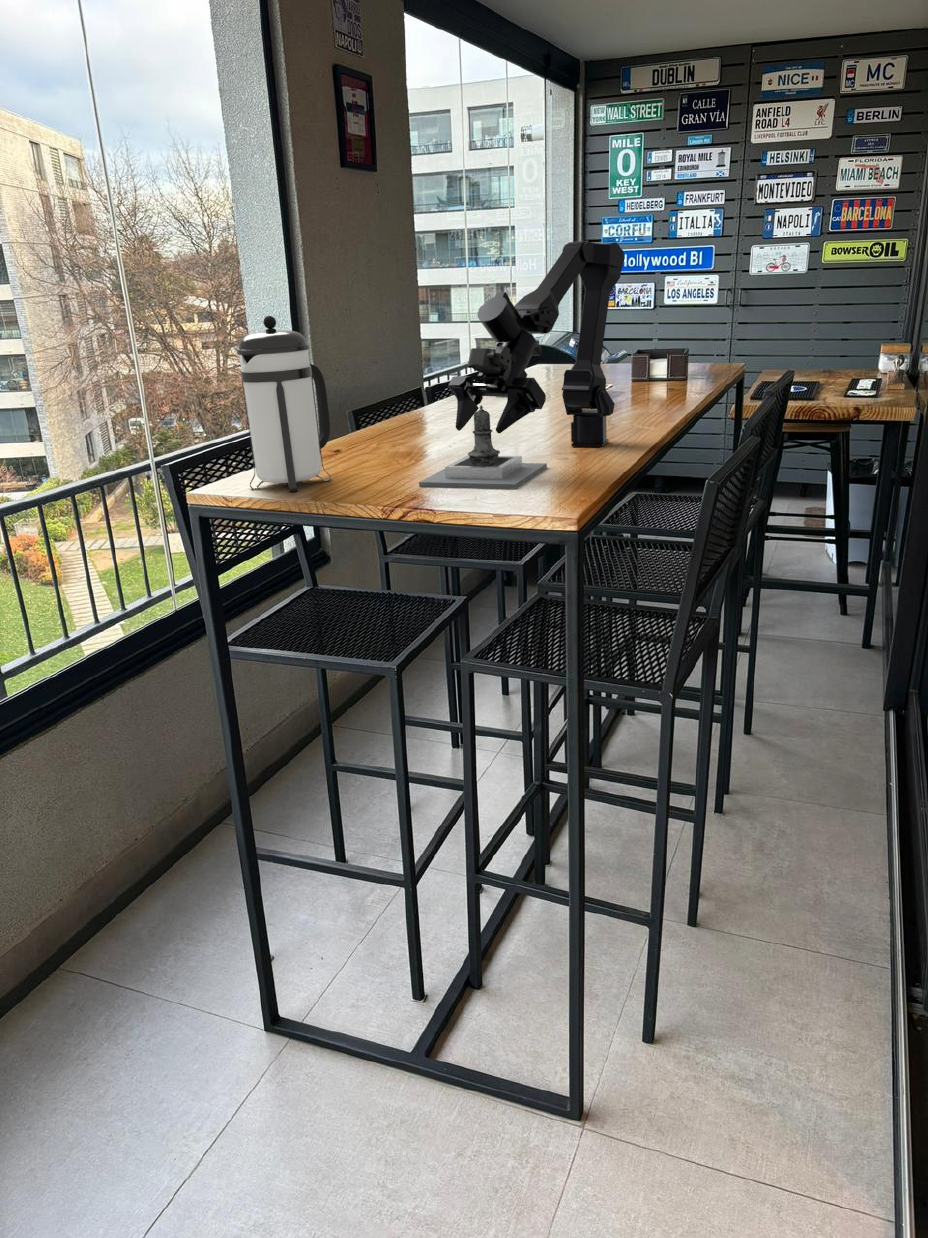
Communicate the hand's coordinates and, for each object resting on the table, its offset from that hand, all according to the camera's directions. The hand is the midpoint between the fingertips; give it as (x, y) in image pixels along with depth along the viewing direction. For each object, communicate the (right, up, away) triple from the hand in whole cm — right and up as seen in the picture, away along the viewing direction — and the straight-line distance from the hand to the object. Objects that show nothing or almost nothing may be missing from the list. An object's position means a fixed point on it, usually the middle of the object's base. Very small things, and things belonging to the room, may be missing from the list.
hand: (477, 430), depth 161 cm
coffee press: (-34, -8, +9) cm, 36 cm away
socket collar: (+1, -8, +4) cm, 9 cm away
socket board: (+1, -8, +4) cm, 9 cm away
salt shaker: (+1, -7, +4) cm, 8 cm away
